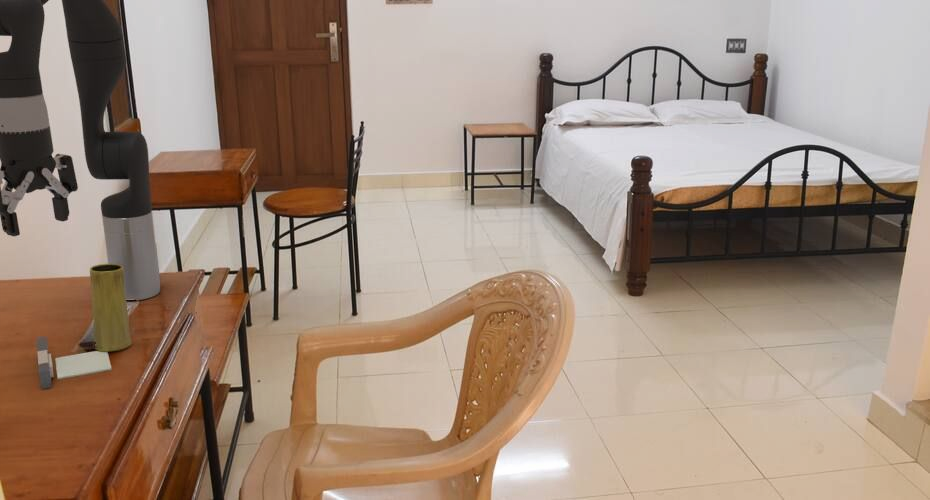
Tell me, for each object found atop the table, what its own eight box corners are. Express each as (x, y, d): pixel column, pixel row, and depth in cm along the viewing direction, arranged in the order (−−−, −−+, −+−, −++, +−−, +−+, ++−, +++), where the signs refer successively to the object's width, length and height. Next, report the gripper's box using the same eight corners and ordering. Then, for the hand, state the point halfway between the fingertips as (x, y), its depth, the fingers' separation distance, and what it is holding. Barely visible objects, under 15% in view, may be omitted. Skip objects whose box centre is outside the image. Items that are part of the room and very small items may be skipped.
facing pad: (55, 359, 135) (55, 358, 135) (106, 350, 139) (106, 349, 138) (57, 379, 128) (57, 378, 128) (111, 369, 132) (111, 368, 132)
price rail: (39, 354, 137) (36, 336, 136) (51, 352, 138) (48, 334, 137) (41, 389, 125) (38, 370, 124) (54, 387, 126) (52, 368, 125)
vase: (118, 353, 137) (111, 274, 133) (86, 349, 138) (78, 270, 134) (138, 341, 142) (133, 264, 139) (108, 337, 144) (101, 261, 140)
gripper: (-7, 136, 112) (12, 245, 118) (79, 119, 124) (93, 219, 130) (-42, 130, 115) (-21, 236, 121) (46, 114, 127) (61, 212, 133)
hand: (38, 227), depth 125 cm, fingers open, 8 cm apart
